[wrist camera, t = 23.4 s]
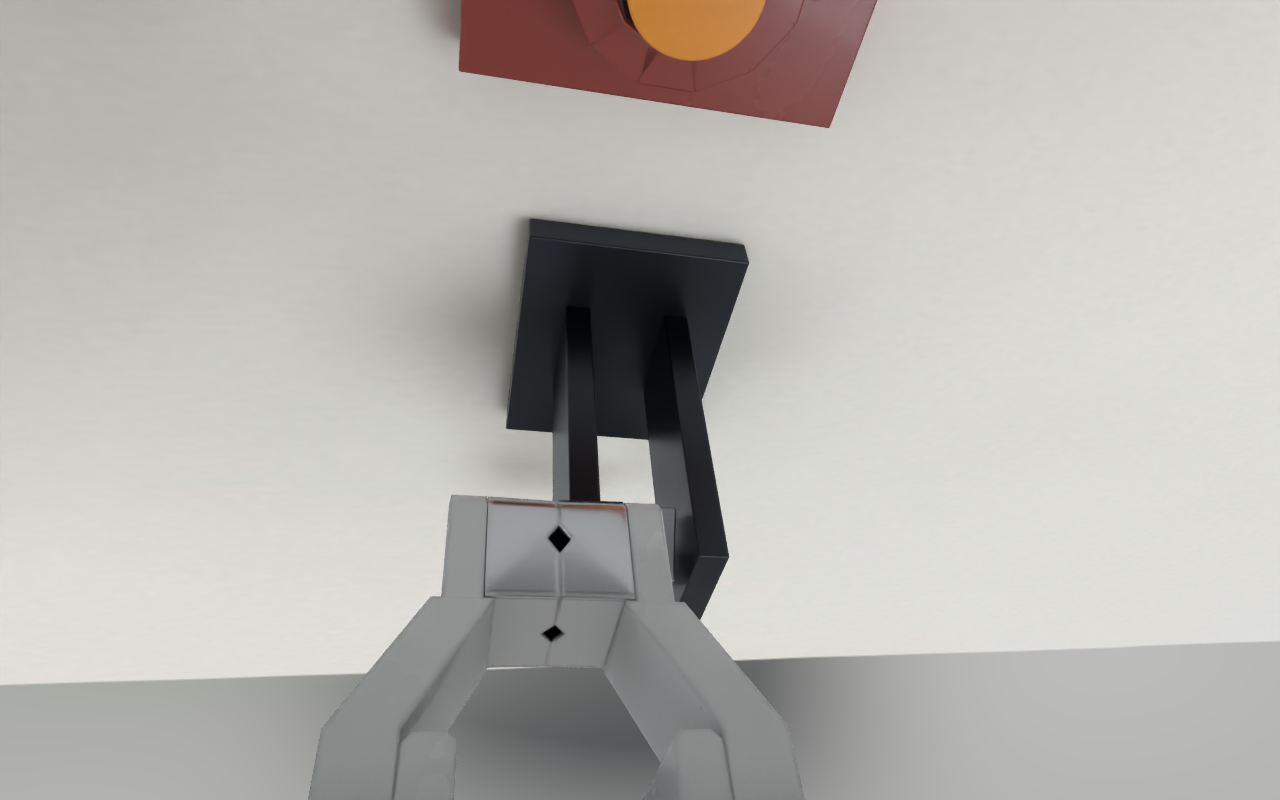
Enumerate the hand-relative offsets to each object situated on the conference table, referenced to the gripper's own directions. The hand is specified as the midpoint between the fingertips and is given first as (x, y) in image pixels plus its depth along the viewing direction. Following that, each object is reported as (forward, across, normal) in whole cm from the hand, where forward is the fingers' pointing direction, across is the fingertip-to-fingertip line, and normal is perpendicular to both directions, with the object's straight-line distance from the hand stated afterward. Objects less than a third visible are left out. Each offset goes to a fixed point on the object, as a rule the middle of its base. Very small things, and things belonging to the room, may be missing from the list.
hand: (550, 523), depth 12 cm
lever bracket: (+20, -5, +13) cm, 25 cm away
